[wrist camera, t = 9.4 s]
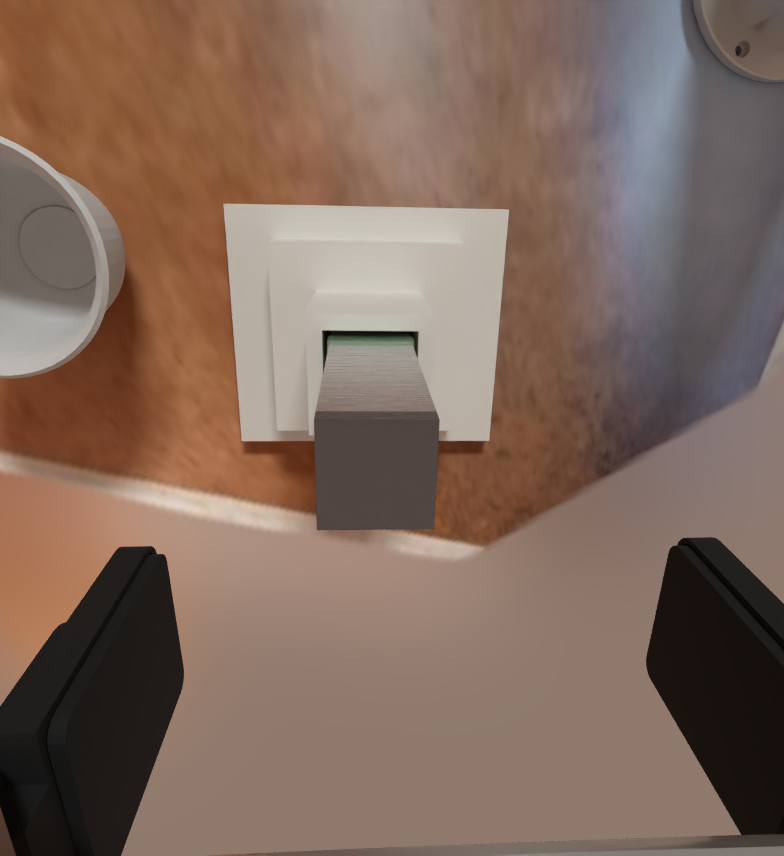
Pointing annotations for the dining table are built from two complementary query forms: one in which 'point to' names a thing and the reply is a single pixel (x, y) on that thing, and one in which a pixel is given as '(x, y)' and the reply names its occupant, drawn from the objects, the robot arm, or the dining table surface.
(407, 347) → the post
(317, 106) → the dining table surface
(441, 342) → the stand
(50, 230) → the teacup
